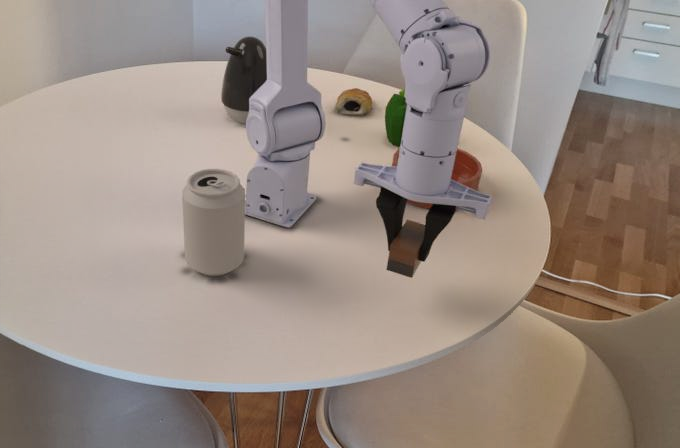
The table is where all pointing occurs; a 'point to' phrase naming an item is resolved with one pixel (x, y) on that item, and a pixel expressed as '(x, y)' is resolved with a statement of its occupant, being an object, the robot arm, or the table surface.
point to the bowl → (456, 172)
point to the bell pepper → (395, 118)
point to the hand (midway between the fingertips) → (408, 252)
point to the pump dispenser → (243, 76)
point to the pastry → (354, 102)
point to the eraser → (406, 249)
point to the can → (213, 221)
